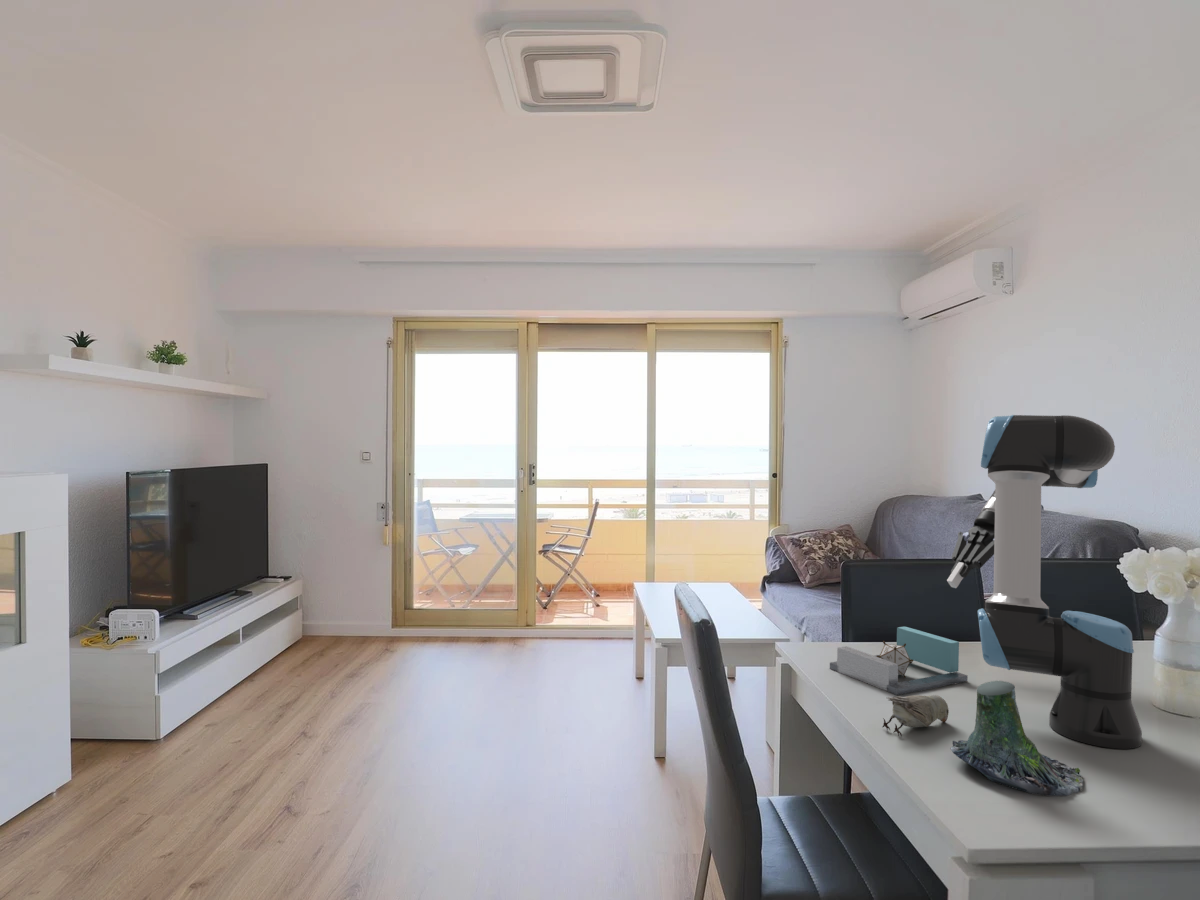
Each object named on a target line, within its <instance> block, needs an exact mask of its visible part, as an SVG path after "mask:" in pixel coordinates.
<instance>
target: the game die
mask: <svg viewBox="0 0 1200 900" xmlns="http://www.w3.org/2000/svg"><path fill="white" fill-rule="evenodd" d="M882 641H883V642H882V643H883V648H882V649H881V652H880V653H879V655H880V656H876V657H879V658H881V659H884V660H887V661H890V662H893V663H896V664H898V676H903V679H905V678H907V676H906V672H907V670H908V669H909V668H908V667H909V665H910V664H913V662H915V661H914V660H911V659H910V658H909V656H908V653H907V651H906V649H905V646H906V643H905V644H904V646H900V645H897V644H892V643H891V644H889V643H886V641H885V640H882Z"/></svg>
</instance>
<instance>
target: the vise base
mask: <svg viewBox="0 0 1200 900" xmlns="http://www.w3.org/2000/svg"><path fill="white" fill-rule="evenodd" d="M836 649H837V651H836V653H837V654H836V655H837V656H836V660H837V661H830V662H829V669H830V670H833V671H835V672H838V673H840V674H843V675H845V676H848V677H850V678H852V679H855V680H858V681H861V682H862V683H865V684H867V683H868V685H870V686H873V687H875V688H878V689H881V690H883V691H885V690H886V691H885V692H888V693H890V692H891V693H890V694H892V695H895V694H896V695H895V696H900V694H902V695H905V693H907V694H910V693H911V692H912V693H916V691H917V692H921V690H922V691H926V689H927V690H931V688H932V689H937V688H942V687H946V685H948V686H951V685H950V684H953V685H956V684H955V683H958V684H960V683H959V682H963V683H965V682H964V681H967V682H968V675H967V674H965V673H961V672H959V671H957V672H951V673H950V672H947V673H942V674H937V675H932V676H925V677H921V678H916V679H911V680H905V681H899V675H898V664H896V663H893V662H890V661H887V660H884V659H881V658H879V657H876V656H880V654H876V655H872V654H869V653H867V652H863V651H861V650H859V649H855V648H852V647H849V646H837V648H836ZM941 686H942V687H941ZM936 687H937V688H936Z"/></svg>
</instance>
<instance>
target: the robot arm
mask: <svg viewBox="0 0 1200 900" xmlns="http://www.w3.org/2000/svg"><path fill="white" fill-rule="evenodd" d="M985 430H986V431H985V436H984V441H983V448H982V455H981V461H980V467H981V468H982V469H983V468H984V469H985V470H986V469H987V477H988V478H989V479H990V480H991V481H992V482H994V487H995V488H994V491H993V493H992V494H991V496H990V497H989V498H988V500H987V501H986V503H985V504H984V506H983V507H982V509H981V511H980V512H979V513H978V515H977V517H976V518H975V519H974V522H973V526H972V527H970V528H969V530H968V531H967V532H962V531H958V532H957V541H956V543H955V547H954V549H953V552H952V555H951V557H950V558H951V559H952V561H953V563H954V565H953V567H952V568H951V570H950V575H949V576H948V578H947V579H946V581H947V583H948V585H949V586H950V588H953V589H957V588H958V587H959V585H960V584H961V582H962V580H963V579H964V578H967V576H968V575H969V573H970V572H971V570H973V569H975V568H976V569H981V568H982V567H983V566H984V565H985V564H987V562H988V561H989V560H990V559H991V558H992V557H993V558H994V559H993V593H992V595H991V596H989V597H988V598H987V599H985V603H984V608H979V609H978V610H977V618H978V626H979V627H978V628H979V636H980V644H981V650H982V657H983V660H984V662H985V663H986V665H987V664H988V665H989V666H991V667H996V668H1001V669H1006V670H1008V671H1010V670H1011V671H1012V670H1013V671H1019V672H1028V673H1033V674H1041V675H1048V676H1053V677H1054V676H1055V677H1060V687H1059V688H1060V689H1059V691H1058V693H1057V695H1056V698H1055V700H1054V703H1053V704H1052V708H1051V710H1050V712H1049V718H1048V719H1049V721H1048V722H1049V724H1048V725H1049V727H1050V729H1052V730H1053V731H1055V732H1056V733H1058V734H1059V735H1061V736H1064V737H1066V738H1069V739H1071V740H1074V741H1076V742H1080V743H1083V744H1088V745H1092V746H1097V747H1101V748H1109V749H1119V750H1120V749H1123V750H1125V749H1127V750H1129V749H1135V748H1139V747H1141V745H1142V743H1143V732H1142V729H1141V725H1140V722H1139V720H1138V717H1137V714H1136V711H1135V708H1134V706H1133V705H1134V704H1133V702H1132V701H1133V700H1132V688H1133V687H1132V684H1133V682H1132V681H1133V680H1132V679H1133V654H1134V653H1135V651H1134V646H1133V643H1134V642H1133V633H1132V631H1131V629H1129V627H1128V626H1126V625H1125V624H1124V623H1121V622H1119V621H1117V620H1113V619H1111V618H1108V617H1104V616H1101V615H1098V614H1094V613H1088V612H1085V611H1077V610H1075V611H1073V610H1065V611H1062V614H1060V617H1056V616H1055V617H1054V616H1050V606H1048V605H1047V604H1046V603H1045V602H1044V601H1043V600H1042V597H1041V569H1042V568H1041V566H1042V565H1041V564H1042V563H1041V561H1042V559H1041V557H1042V556H1041V555H1042V553H1041V552H1042V551H1041V549H1042V545H1041V544H1042V540H1041V539H1042V487H1053V488H1054V487H1056V488H1077V489H1084V488H1087V489H1088V488H1090V489H1092V488H1094V487H1096V485H1097V483H1098V482H1097V481H1098V476H1099V474H1098V473H1099V472H1098V471H1099V470H1100V469H1102V468H1103V467H1105V466H1106V465H1107V464H1108V463H1110V462H1111V460H1112V459H1113V457H1114V455H1115V450H1116V449H1115V447H1116V446H1115V442H1114V438H1113V437H1112V435H1111V433H1110V432H1109V431H1108V430H1106V429H1105V427H1103V426H1101V425H1100V424H1098V423H1097V422H1094V421H1092V420H1089V419H1087V418H1084V417H1080V416H1075V415H1066V414H1065V415H1031V414H1030V415H1025V414H1024V415H1023V414H1021V415H1020V414H1019V415H1018V414H1011V415H1001V416H994V417H992V418H990V419H989V420H988V422H987V427H986V429H985Z"/></svg>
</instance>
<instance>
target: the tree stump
mask: <svg viewBox="0 0 1200 900" xmlns="http://www.w3.org/2000/svg"><path fill="white" fill-rule="evenodd" d="M1015 686H1016V685H1015V684H1013V683H1012V682H1009V681H1004V680H993V681H992V680H991V681H987V682H984V683H982V684H980V685H978V686H977V688H976V712H975V726H974V730H973V731H972V732H971V733H970V735H969V736H968V739H967V740H963V739H959V740H957V741H955V740H952V746H951V747H950V750H951V751H950V752H952V753H953V754H954V755H955V756H956V757H957V758H958V759H960V760H962V761H963V762H965V763H966V764H968V765H969V766H971V767H972V768H974V769H975V770H977V771H978V772H979V773H980V774H981V775H982V776H984V777H985V778H986V777H987V780H989V781H990V780H991V782H994V783H996V782H997V783H996V784H999V783H1000V784H999V785H1002V784H1003V785H1002V786H1006V787H1009V786H1010V787H1009V788H1012V787H1013V789H1015V790H1018V791H1022V792H1024V791H1025V792H1024V793H1028V794H1032V793H1033V794H1032V795H1039V796H1047V797H1048V796H1054V797H1055V796H1057V797H1058V796H1060V797H1062V796H1065V797H1068V796H1069V795H1072V794H1077V793H1081V792H1082V791H1083V788H1084V787H1083V786H1084V779H1085V778H1084V777H1083V776H1082V775H1080V772H1081V769H1080V767H1073V768H1072V767H1070V766H1069V765H1067V764H1066V763H1062V762H1060V761H1059V760H1057V759H1054V758H1051V757H1049V756H1046V755H1044V754H1042V753H1041V752H1039V750H1038V749H1037V746H1036V744H1035V743H1034V742H1033V741H1032V739H1030V738H1029V737H1028V736H1027V734H1026V733H1025V730H1024V727H1023V723H1022V721H1021V716H1020V712H1019V711H1020V710H1019V707H1018V705H1017V701H1016V688H1015Z"/></svg>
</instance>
